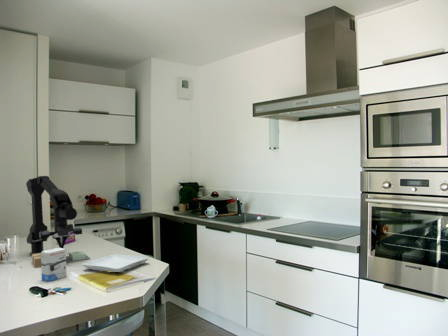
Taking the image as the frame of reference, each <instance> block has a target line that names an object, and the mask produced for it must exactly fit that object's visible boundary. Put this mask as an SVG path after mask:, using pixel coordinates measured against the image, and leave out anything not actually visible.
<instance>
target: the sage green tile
mask: <svg viewBox="0 0 448 336" xmlns="http://www.w3.org/2000/svg"><path fill="white" fill-rule="evenodd" d="M85 254H86V252H84V251H83V250H81V249H80V250H72V251H68V256H69V258H70V259H72V260H79V259H86V257H85Z"/></svg>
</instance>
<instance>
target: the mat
mask: <svg viewBox="0 0 448 336" xmlns="http://www.w3.org/2000/svg"><path fill="white" fill-rule="evenodd" d="M85 257H86V259H79V260H72V259H70V258H69V255H66V264H68V263H74V262H82V261H88V260H91V257H89V256H88V255H87V254H86V253H85Z"/></svg>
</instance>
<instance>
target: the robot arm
mask: <svg viewBox="0 0 448 336" xmlns="http://www.w3.org/2000/svg"><path fill="white" fill-rule="evenodd" d="M25 185H26V188H27V192H28V193H29V195H30V196H31V213H32V224H31V225H30V227H29V234H28V235H27V237H26V243H27V244H30V248H31V252H29V254H30V256H32V254H36V253H41V252H42V251H44V242H48V239H49V237H50V236H51V238H53V240H56V242H57V245H58V248H63V249H65V245H66V244H65V242H66V240H67V238H68V237H70V236H69V234H70V233H74V234H75V236H76V235H82V234H83V229H82V228H81V227H79V226H77V227H75V228H73V224H69V225H68V224H67V220H73V219H74V220H75V219H76V218H77V216H78V212H77V210H76V208H74V205H73V204H72V203H73V201H72V200H71V198H70V196H69V194H68V193H67V192H66V191H65V190H63V189H59V188H58V187H57V185H56V184H55V183H54V182H53V181H52V180H51V179H50V176H49V175H39V176H37V177H33V178H29V179H28V180H27V181H26V183H25ZM44 192H46V193H47V194H48V195H49V200H50V202H51V204H52V205H53V206H52V207H51V208H52V210H53V224H54V225H53V226H54V231H50V230H48V226H47V225H45V223H44V217H43V216H44V215H43V196H42V195H43V194H44ZM60 236H62V240H61V237H60Z"/></svg>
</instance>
